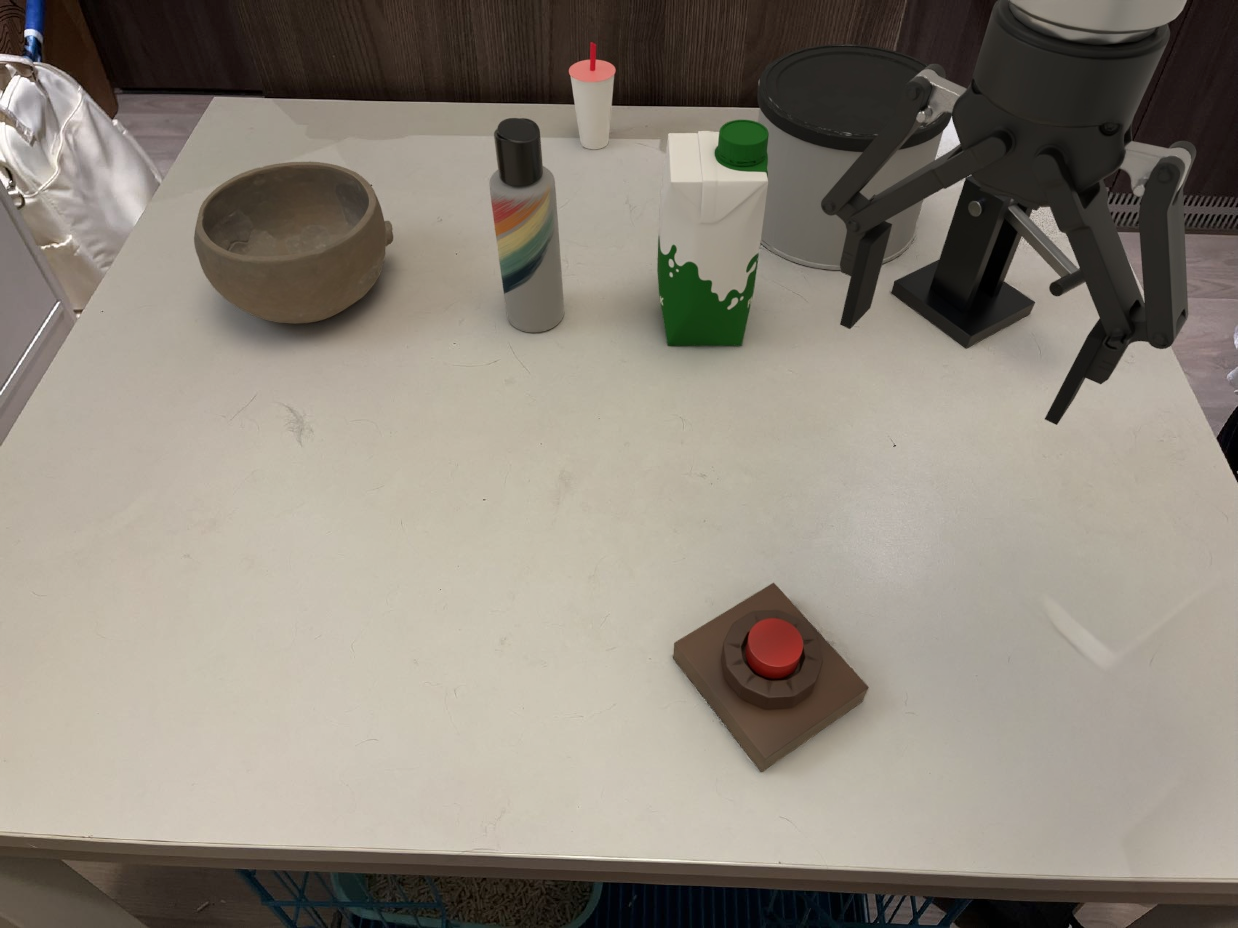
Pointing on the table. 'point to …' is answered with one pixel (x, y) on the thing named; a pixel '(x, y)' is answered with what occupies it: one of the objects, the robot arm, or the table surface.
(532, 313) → the lotion bottle
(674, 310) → the milk carton
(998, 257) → the black lever switch
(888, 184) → the container
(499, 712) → the table surface
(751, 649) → the red push button
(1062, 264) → the lever handle
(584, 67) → the cup
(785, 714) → the control block
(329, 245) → the bowl
